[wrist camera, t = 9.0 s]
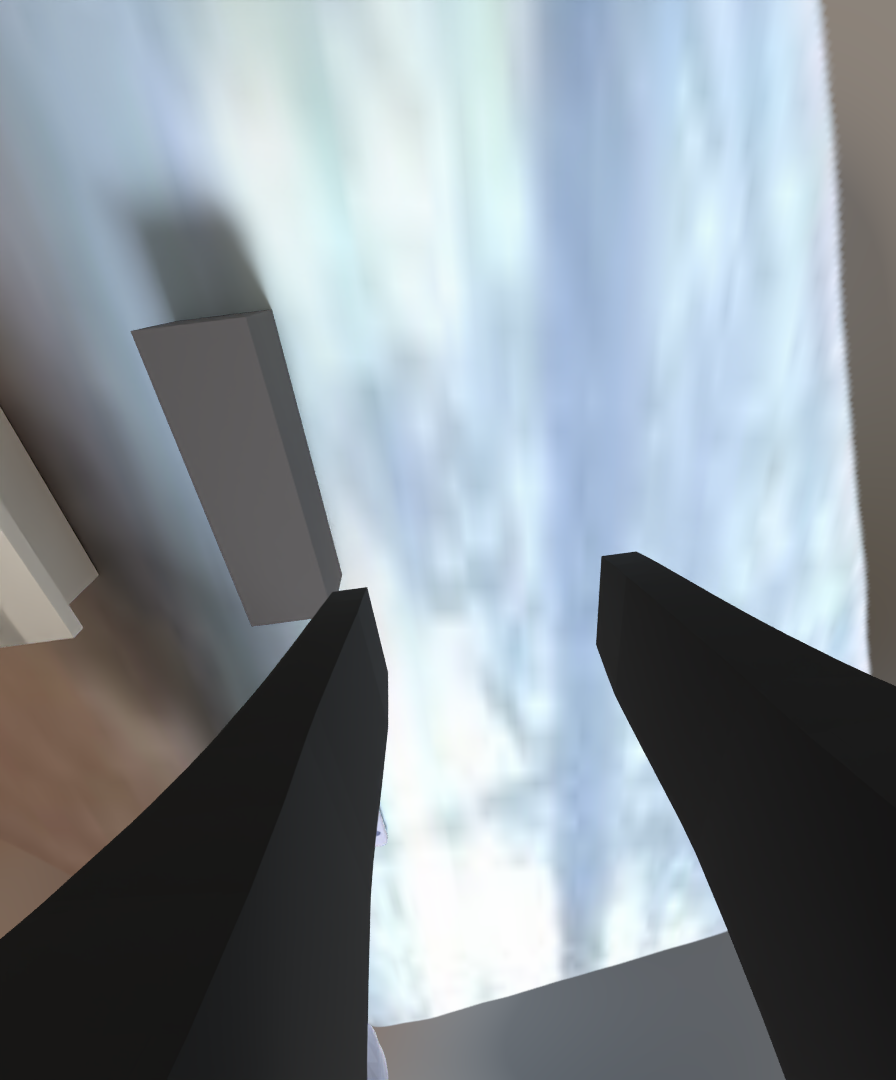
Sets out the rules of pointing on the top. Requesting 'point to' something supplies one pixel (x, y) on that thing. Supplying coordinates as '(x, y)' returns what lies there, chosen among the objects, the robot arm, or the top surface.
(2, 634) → the side clip
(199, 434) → the block
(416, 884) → the top surface
